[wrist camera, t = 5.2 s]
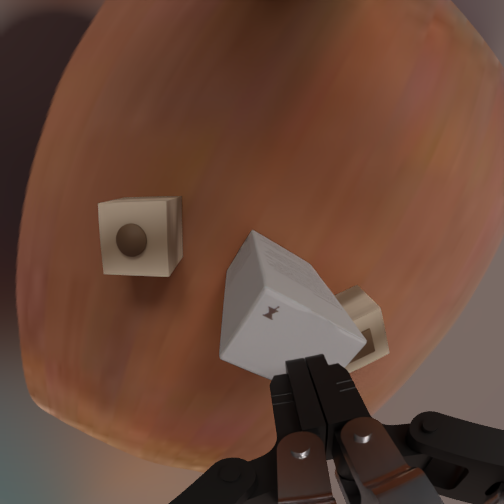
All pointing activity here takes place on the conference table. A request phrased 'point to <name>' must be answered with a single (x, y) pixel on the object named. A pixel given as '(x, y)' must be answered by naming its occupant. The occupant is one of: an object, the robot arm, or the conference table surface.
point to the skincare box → (281, 312)
